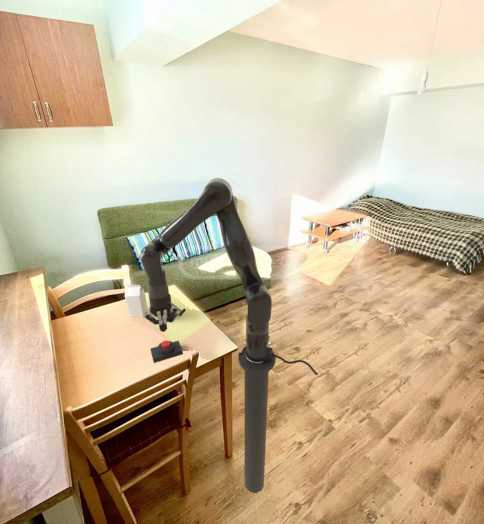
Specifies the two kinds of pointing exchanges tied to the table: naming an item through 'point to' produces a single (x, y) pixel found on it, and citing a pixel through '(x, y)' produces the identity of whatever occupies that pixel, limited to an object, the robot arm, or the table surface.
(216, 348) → the table surface
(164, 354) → the control block
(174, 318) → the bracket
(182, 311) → the lever
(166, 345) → the button
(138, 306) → the milk carton
